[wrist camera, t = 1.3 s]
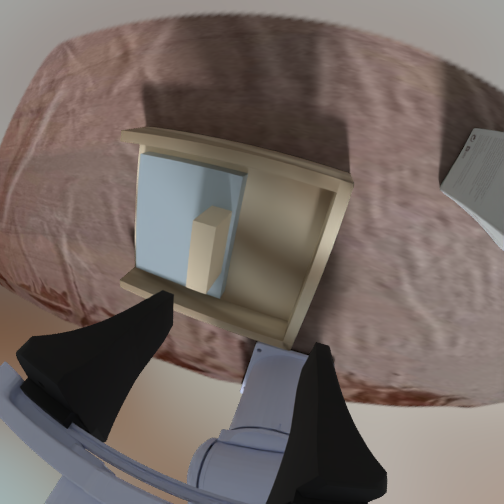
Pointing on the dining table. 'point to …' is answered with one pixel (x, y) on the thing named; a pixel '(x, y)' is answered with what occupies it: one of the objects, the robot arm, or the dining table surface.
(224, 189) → the cover plate
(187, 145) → the birch box
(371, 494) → the robot arm
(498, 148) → the skincare box
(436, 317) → the dining table surface
